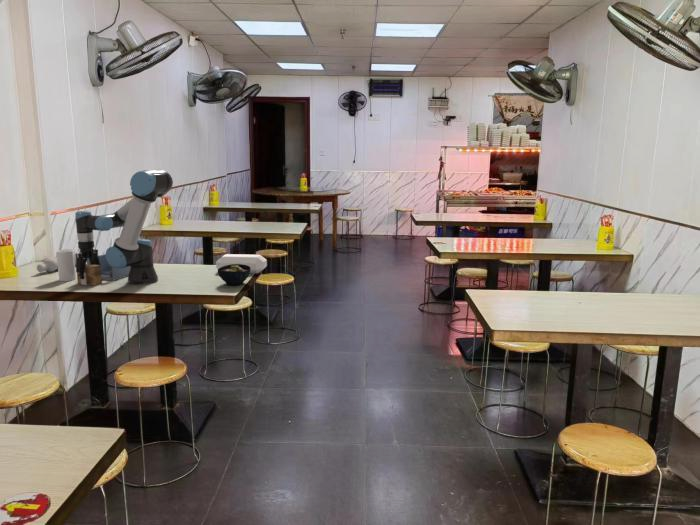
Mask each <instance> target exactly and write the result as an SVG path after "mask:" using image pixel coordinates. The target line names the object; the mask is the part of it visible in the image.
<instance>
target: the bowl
mask: <svg viewBox="0 0 700 525" xmlns="http://www.w3.org/2000/svg"><path fill="white" fill-rule="evenodd" d="M250 269H251V268H250V267H249V266H247V265H242V264H232V265H226V266H223V267H221V268H219V269H217V275H218V277H219V278H220V279H221V280H222V281H223V282H224V283H225V284H226V286H231V287H234V286H235V287H237V286H241V285H244V282H245V281H246V280H247V278H248V277H249V276H250V274H251V273H250Z"/></svg>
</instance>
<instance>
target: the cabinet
mask: <svg viewBox="0 0 700 525" xmlns="http://www.w3.org/2000/svg"><path fill="white" fill-rule="evenodd" d="M98 257H99V262H100V265H101V276H102V281H103V280H104V281H105V280H106V281H116V280H119V279H122V278H125V277H127V276H129V272H130V266H128V267H125V268H121V269H115V268H113V267H111V266H110V265H109V264H108V262H107V260H106V253H103V254H100V255H99V254H98ZM86 264H91V263H90V261H89V259H88V260H87V261H86ZM97 265H98V264H97ZM124 276H125V277H124Z"/></svg>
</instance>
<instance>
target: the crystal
mask: <svg viewBox="0 0 700 525" xmlns="http://www.w3.org/2000/svg"><path fill="white" fill-rule="evenodd" d="M232 264H242V265H247V266H249V267H250V268H251V269H250V274H260V272H262V271H264V269H266V268H267V266H268V260H267V259H266V258H265V257H264V256H262V255H261V254H249V253H248V254H244V253H243V254H242V253H239V254H237V253H235V254H233V253H232V254H231V253H226V254H223V256H221V257H220V258H219V259H217V260H216V261H215V268H216V269H217V270H218V269H219V268H221V267H223V266H226V265H232Z"/></svg>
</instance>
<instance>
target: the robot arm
mask: <svg viewBox="0 0 700 525" xmlns="http://www.w3.org/2000/svg"><path fill="white" fill-rule="evenodd" d="M170 174H171V173H168V171H166V170H163V169H154V170H153V169H152V170H147V169H145V170H144V169H143V170H140V171H137V172H135V173H134V174H133V175H132V176H131V178H130V182H129V185H130V190H131V195H132V198H131V199H130V200H128V201H127V202H125V204H124V205H122V206H121V207H120V208H118V209H117V210H116V211H115V212H113V213H108V214H102V215H92V212H91V211H90V210H79V211H76V212H75V213H74V215H75V219H74V220H75V227H76V235H77V236H76V237H77V245H78V246H77V247H78V248H79V253H78V254H77V253H76V254H75V255H76V266H75V272H76V273H77V272H78V273H80V279H81V284H80V285H82V286H87V285H88V284H87V281H86V273H84V271H85V266H86V264H87V260H88V259H89V261H90V263H91V265H97V264H98V265H100V262H99V257H98V256H99V250H98V249H95V241H94V240H95V238H94V231H100V232H104V231H105V232H108V231H110V230H111V229H114V228H122V230H121V233H120V235H119V237H116V238H115V239H114V242H113V245H112V246H110V247H108V248H107V249H106V252H105V254H106V260H107V262H108V264H109V265H110V266H111V267H113V268H115V269H121V268H125V267H128V266H130V272H129V275H128V278H127V283H128V284H130V285H148V284H153V283H156V282H158V281H159V276H158V274H157V271H156V269H155V265H154V256H153V254H154V252H153V251H154V250H153V242H152V240H150V239H145V238H144V239H143V238H140V235H141V232H142V230H143V227H144V224H145V222H146V219H147V216H148V213H149V211H150V208H151V204H153V203H155V202H156V201H157V199H158V198H163V197H164V196H165V195H166V194H168V193H169V192H170V191H171V190H172V188H173V184H174V181H173V177H172V176H171V175H170Z"/></svg>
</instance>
